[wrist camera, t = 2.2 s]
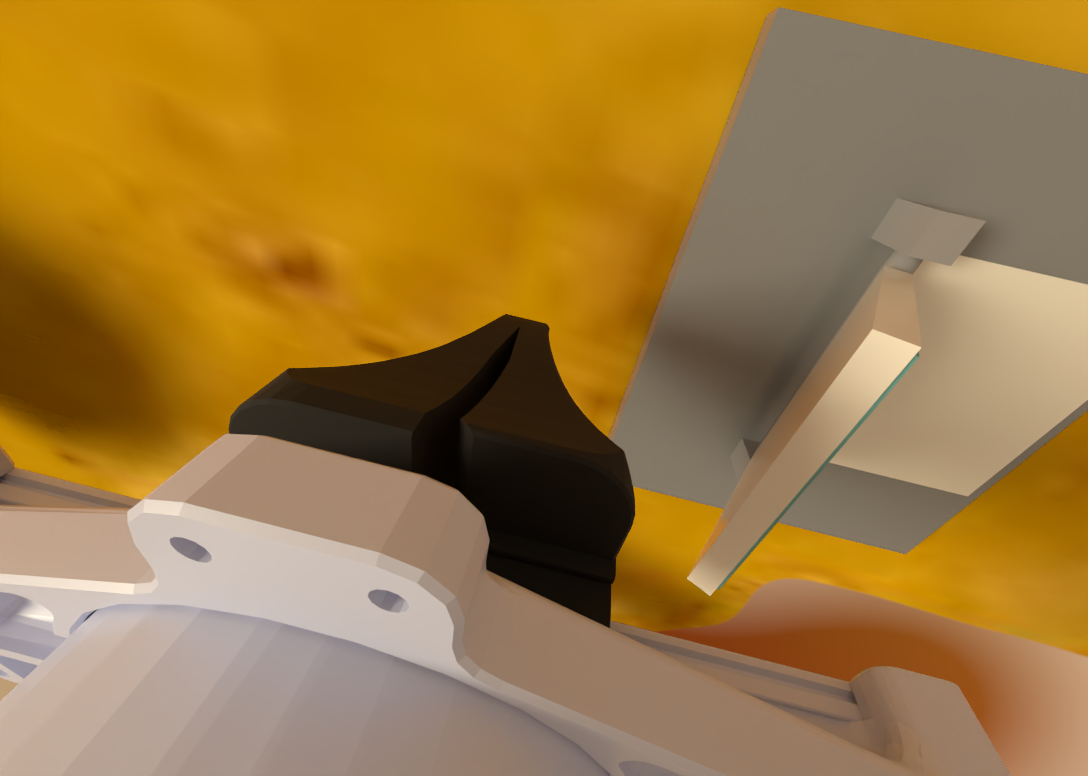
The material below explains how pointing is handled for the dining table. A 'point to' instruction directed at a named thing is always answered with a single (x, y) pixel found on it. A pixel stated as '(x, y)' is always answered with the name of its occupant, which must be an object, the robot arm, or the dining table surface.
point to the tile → (817, 422)
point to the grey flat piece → (875, 275)
